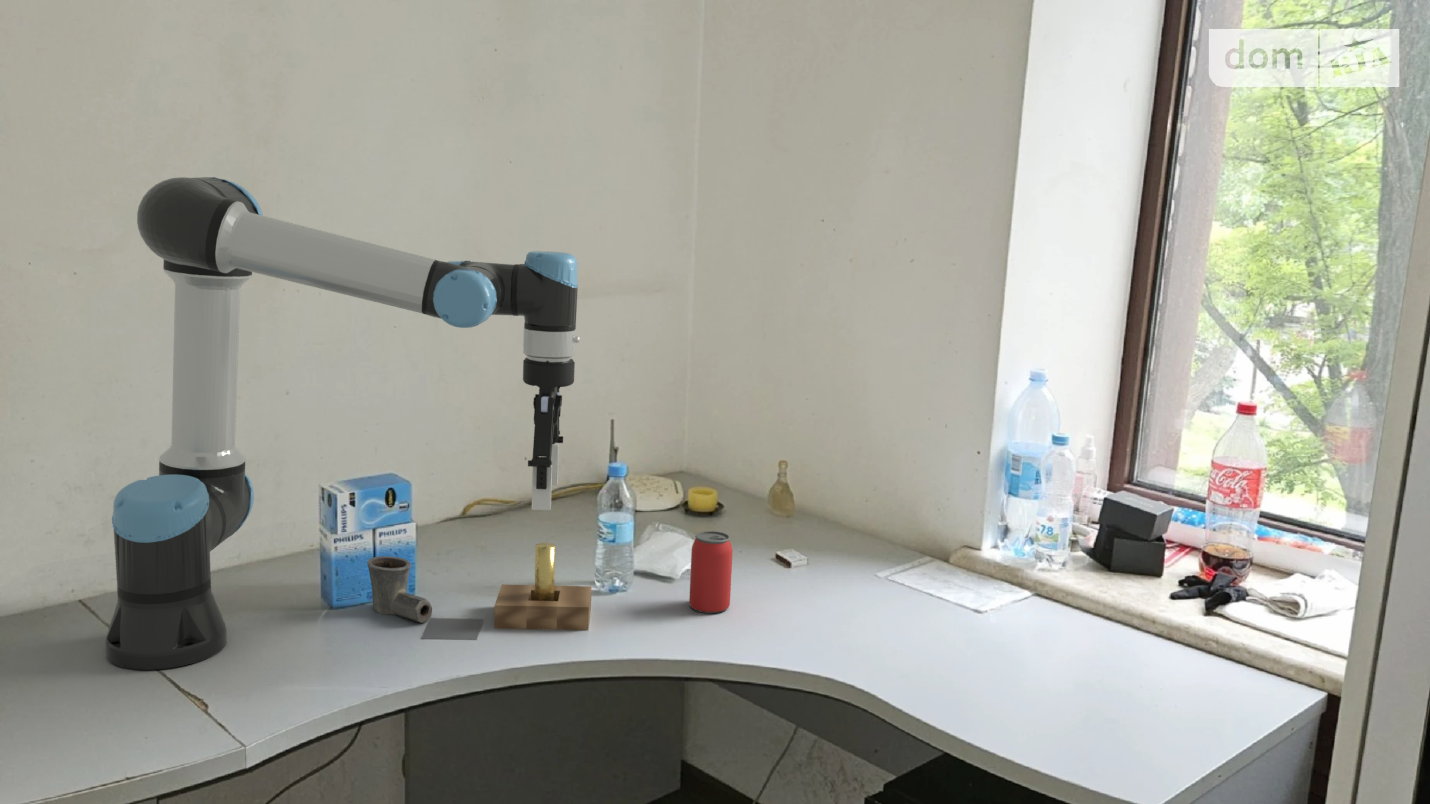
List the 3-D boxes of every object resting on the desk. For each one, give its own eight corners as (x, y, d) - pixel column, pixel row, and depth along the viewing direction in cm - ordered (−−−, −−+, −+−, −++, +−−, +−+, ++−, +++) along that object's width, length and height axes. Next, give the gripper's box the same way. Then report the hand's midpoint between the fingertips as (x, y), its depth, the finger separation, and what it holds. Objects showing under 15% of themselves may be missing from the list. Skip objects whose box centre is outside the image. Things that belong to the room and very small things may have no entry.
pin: (533, 623, 172) (534, 548, 170) (534, 616, 175) (536, 542, 173) (553, 624, 172) (554, 549, 170) (554, 616, 175) (556, 542, 173)
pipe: (409, 632, 167) (409, 580, 165) (357, 609, 174) (356, 560, 173) (442, 621, 172) (442, 571, 170) (390, 599, 179) (389, 551, 178)
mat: (420, 641, 164) (420, 638, 164) (430, 620, 171) (430, 618, 171) (476, 642, 164) (476, 639, 164) (483, 621, 172) (483, 619, 172)
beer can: (729, 615, 179) (733, 543, 177) (688, 613, 179) (691, 541, 177) (729, 601, 186) (733, 531, 183) (690, 598, 186) (693, 529, 183)
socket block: (494, 630, 169) (494, 605, 168) (501, 608, 178) (501, 584, 177) (588, 632, 170) (588, 607, 169) (590, 610, 179) (591, 586, 178)
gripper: (569, 372, 154) (564, 521, 158) (579, 346, 179) (574, 476, 182) (514, 369, 154) (510, 519, 157) (531, 344, 178) (528, 474, 182)
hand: (545, 496), depth 170 cm, fingers open, 13 cm apart
